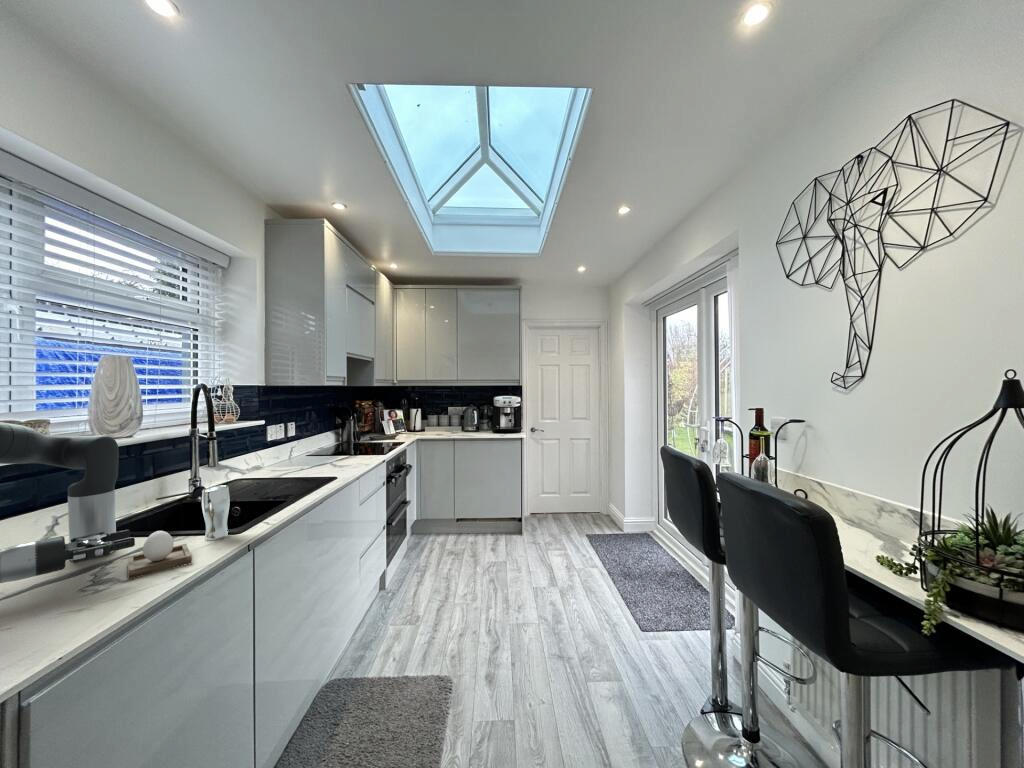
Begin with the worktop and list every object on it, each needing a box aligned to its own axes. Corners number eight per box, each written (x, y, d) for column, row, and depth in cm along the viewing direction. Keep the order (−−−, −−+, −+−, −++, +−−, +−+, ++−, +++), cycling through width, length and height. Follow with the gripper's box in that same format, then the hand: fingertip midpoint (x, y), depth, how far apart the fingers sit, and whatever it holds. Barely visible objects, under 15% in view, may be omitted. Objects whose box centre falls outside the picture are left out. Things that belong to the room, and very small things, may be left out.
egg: (149, 558, 109) (148, 529, 109) (177, 554, 111) (177, 525, 111) (138, 567, 103) (137, 536, 103) (168, 562, 105) (167, 533, 105)
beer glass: (226, 531, 131) (225, 484, 131) (233, 535, 127) (232, 487, 127) (199, 537, 126) (198, 489, 126) (206, 542, 121) (205, 492, 122)
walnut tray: (128, 564, 108) (127, 556, 108) (186, 550, 116) (186, 543, 116) (128, 579, 99) (128, 570, 99) (191, 563, 107) (191, 555, 107)
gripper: (32, 549, 87) (136, 528, 99) (33, 535, 96) (128, 517, 108) (33, 585, 87) (136, 559, 99) (34, 567, 96) (128, 545, 108)
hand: (132, 537), depth 103 cm, fingers open, 8 cm apart
